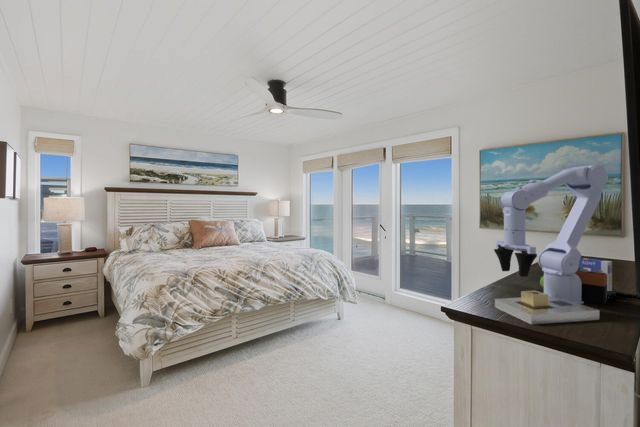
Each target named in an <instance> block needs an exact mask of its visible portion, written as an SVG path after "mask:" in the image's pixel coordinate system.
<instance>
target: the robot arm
mask: <svg viewBox="0 0 640 427" xmlns="http://www.w3.org/2000/svg"><path fill="white" fill-rule="evenodd" d="M608 180H609V175H608V172H607V170H606V168H605V166H604V165H602V164H600V163H595V164H590V165H582V166H576V167H574V166H571V167H567V168H566V169H562V170H561V171H559V172H557V173H555V174H553V175H551V176H550V177H548V178H546V179H544V180H538V179H531V180H528V183H527V184H524V185H522V186H517V187H515V190H510V191H505V192H504V193H503V194H502V195H501V197H500V199H499V200H498V203H499V206H500V207H501V209H502V214H503V241H501V240H498V241H495V247H496V248H494V249H493V251H494V253H495V254H496V256H497V258H498V261H499V265H500V267H501V268H500V269H501V271H502V272H510V269H511V261H512V256H513V253H514V255H515V257H516V261H517V264H518V274H519V276H520V277H521V278H522V277H528V276H529V273H530V270H531V267H532V265H533V263H534V261H535V259H536V258H537V263H538V265H539V267H540V268H541V271H542V272H543V276H544V288H543V293H545V294H548V296H554V295H555V296H558V297H561V298H564V299H567V300H570V301H573V302H576V303H579V304H584V303H585V301H581V293H582V283H581V279H580V278H579V276H578V275H577V272H578V271H579V269H580V259H582V253H581V252H580V251H579V250H578V248H577V247H578V244H579V243H580V241H581V238H582V236H583V235H584V233H585V231H586V229H587V227H588V225H589V223H590V221H591V219H592V217H593V215H594V212H595V211H596V209H597V207H598V204H599V203H600V200H601V199H602V193H603V190H604V188H605V186H606V184H607V182H608ZM564 185H565V186H567V188H568V189H569V190H570V192H571V193H572V195H574V196H575V197H576V198H575V202H574V204H573V205H572V208H571V209H570V212H569V214H568V215H567V217H566V220H565V221H564V224H563V226H562V227H561V229H560V231H559V233H558V235H557V238H556V240H554V241H552V242H550V243H548V244H547V245H546V246H545V248H544V250H542V251H540V253H539V254H537V247H536V246H533V245H529V244H526V217H527V216H526V209H528V208H529V207H530V205H531V204H532V203H535V202H536V201H539V200H541V199H543V198H545V197H547V196H548V194H549V191H551V190H553V189H556V188H558V187H561V186H564ZM514 251H517V252H514Z"/></svg>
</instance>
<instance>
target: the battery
mask: <svg viewBox="0 0 640 427" xmlns="http://www.w3.org/2000/svg"><path fill="white" fill-rule="evenodd" d="M594 271H595V272H592V271H588V269H581V270H580V269H579V270H577V271H576V275H578V276H579V278H580V279H581V283H582V293H581V301H583V302H584V303H585V302H586V303H592V304H598V305H605V304H606V303H607V301H608V298H607V274H606V273H601V272H603V271H602V270H594Z"/></svg>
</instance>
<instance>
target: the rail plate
mask: <svg viewBox="0 0 640 427" xmlns="http://www.w3.org/2000/svg"><path fill="white" fill-rule="evenodd" d="M494 308H496V309H498V310H500V311H502V312H504V313H506V314H508V315H509V316H512V317H515V318H517V319H519V320H522V321H523V322H524V323H525V322H526V323H527V324H529V325H544V324H557V323H571V322H585V321H586V322H587V321H598V320H600V310H599V309H598V308H594V307H591V306H587V305H584V304H583V303H580V304H579V303H576V302H573V301H570V300H567V299H564V298H561V297H558V296H555V295H554V296H548V309H536V310H532V309H530V308H528V307H525V306H523V305H521V296H520V297H507V298H504V297H503V298H494Z"/></svg>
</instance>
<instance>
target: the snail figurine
mask: <svg viewBox="0 0 640 427" xmlns="http://www.w3.org/2000/svg"><path fill="white" fill-rule="evenodd" d="M539 284H540V286H541V287H542V288H543V289H544V275H543V276H541V277H540V280H539Z"/></svg>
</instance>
